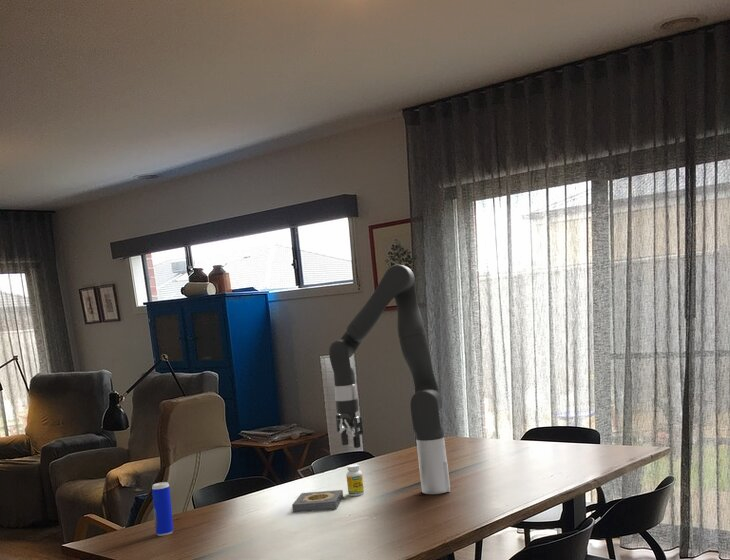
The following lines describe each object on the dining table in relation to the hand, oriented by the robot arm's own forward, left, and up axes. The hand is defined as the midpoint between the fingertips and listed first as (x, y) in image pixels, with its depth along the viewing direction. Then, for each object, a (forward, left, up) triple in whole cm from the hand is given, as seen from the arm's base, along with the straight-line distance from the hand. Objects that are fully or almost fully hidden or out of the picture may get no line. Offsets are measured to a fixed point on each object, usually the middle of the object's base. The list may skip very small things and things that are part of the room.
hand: (351, 446), depth 236 cm
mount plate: (+11, +10, -16) cm, 22 cm away
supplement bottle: (0, 0, -16) cm, 16 cm away
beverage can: (+55, +29, -16) cm, 65 cm away
